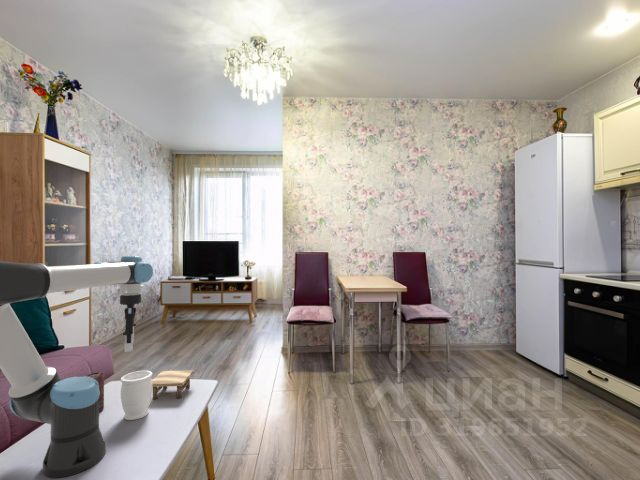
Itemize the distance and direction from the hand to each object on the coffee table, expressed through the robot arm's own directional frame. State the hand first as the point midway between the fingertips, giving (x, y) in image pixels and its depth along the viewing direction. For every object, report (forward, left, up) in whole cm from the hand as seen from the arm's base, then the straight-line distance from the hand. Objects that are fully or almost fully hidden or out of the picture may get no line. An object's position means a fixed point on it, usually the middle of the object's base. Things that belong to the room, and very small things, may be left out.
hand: (129, 346), depth 131 cm
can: (-3, +11, -24) cm, 27 cm away
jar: (-7, -7, -24) cm, 26 cm away
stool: (+11, -13, -24) cm, 29 cm away
